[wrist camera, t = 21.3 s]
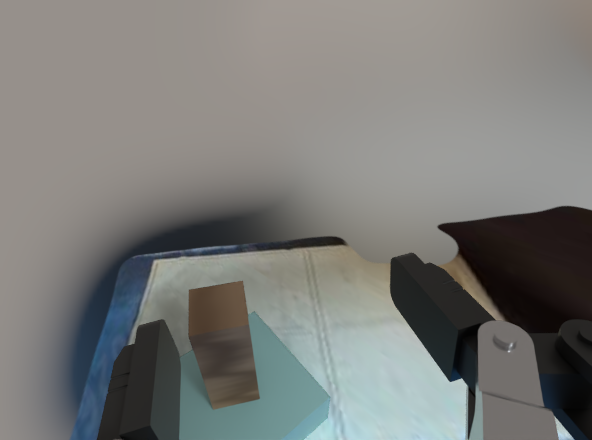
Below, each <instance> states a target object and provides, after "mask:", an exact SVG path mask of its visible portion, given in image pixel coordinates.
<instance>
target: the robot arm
mask: <svg viewBox="0 0 592 440" xmlns="http://www.w3.org/2000/svg"><path fill="white" fill-rule="evenodd" d="M390 292H391V297H392V300H393V302H394V304H395V306H396V308H397V309H398V310H399V312H400V313H401V315H402V316H403V317H404V319H405V320H406V322H407V323H408V324H409V326H410V327H411V329H412V330H413V331H414V333H415V334H416V335H417V337H418V338H419V340H420V341H421V342H422V344H423V345H424V347H425V348H426V349H427V351H428V352H429V354H430V355H431V356H432V358H433V359H434V361H435V362H436V363H437V365H438V366H439V367H440V369H441V370H442V372H443V373H444V374H445V376H446V377H447V379H448V380H449V381H450V382H452V381H455V380H458V379H461V378H462V379H463V380H464V381H465V383H466V384H467V390H466V438H465V440H559V439H558V434H557V428H556V423H555V418H554V416H555V417H556V418H557V419H558V420H559V422H560V423H561V424H562V425H563V426H564V427H565V429H566V430H567V431H568V432H569V433H570V435H571V436H572V437H573V438H574V439H575V440H592V322H591V321H587V320H580V319H573V320H569V321H566V322H564V323H563V324H562V325H561V328H560V330H559V333H526V332H525V331H524V330H523V329H521V328H520V327H518V326H516V325H514V324H511V323H509V322H505V321H496V320H495V319H494V318H493V317H492V316H491V315H490V314H489V313H488V312H487V311H486V310H485V309H484V308H483V307H482V306H481V305H480V304H479V303H478V302H477V301H476V300H475V299H474V298H473V297H472V296H471V295H470V294H469V293H468V292H467V291H466V290H465V289H464V290H463V288H462V286H461V285H460V284H458V283H457V282H455V281H454V279H453V278H452V277H451V276H450V275H449V274H448V273H447V272H446V271H445V270H444V269H442V268H440V267H438V266H436V265H434V264H432V263H427V264H424V263H423V262H422V261H421V260H420V259H419V258H418V257H417V256H416V255H415V254H414V253H409V254H405V255H401V256H398V257H394V258H392V259H391V272H390ZM180 389H181V362H180V357H179V353H178V350H177V347H176V345H175V343H174V341H173V338H172V336H171V334H170V331H169V329H168V327H167V325H166V323H165V321H164V320H163V319H161V320H158V321H154V322H150V323H147V324H143V325H139V326H138V328H137V333H136V339H135V344H132V345H128V346H125V347H124V348H123V349H122V351H121V352H120V354H119V356H118V357H117V359H116V360H115V362H114V366H113V370H112V375H111V381H110V384H109V388H108V394H107V397H106V402H105V406H104V411H103V415H102V420H101V424H100V429H99V433H98V437H97V440H179V427H180Z"/></svg>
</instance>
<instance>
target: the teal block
mask: <svg viewBox="0 0 592 440" xmlns="http://www.w3.org/2000/svg"><path fill="white" fill-rule="evenodd" d="M248 320H249V327H250V334H251V341H252V348H253V355H254V362H255V368H256V375H257V382H258V389H259V396H260V399H258V400H254V401H249V402H245V403H241V404H236V405H232V406H228V407H223V408H219V409H214V410H213V408H212V405H211V402H210V399H209V396H208V393H207V390H206V387H205V384H204V381H203V378H202V375H201V372H200V369H199V366H198V363H197V360H196V357H195V354H194V351H193V350H191V351H190V352H188V353H186V354H185V355H183V356H181V357H180V362H181V389H180V427H179V440H304V439H305V438H306V437H307V436H308V435H309V434H310V433H312V432H313V431H314V430H315V429H316V428H317V427H318V426H319V425H320V424H321V423H323V422H324V421H325V420H326V419H327V418H328V411H329V403H330V396H329V395H328V394H327V393H326V391H325V390H324V389H323V388H322V387H321V386H320V385H319V384H318V382H317V381H316V380H315V379H314V378H313V377H312V376H311V374H310V373H309V372H308V371H307V370H306V369H305V368H304V367H303V365H302V364H301V363H300V362H299V361H298V360H297V359H296V358H295V356H294V355H293V354H292V353H291V352H290V351H289V350H288V349H287V347H286V346H285V345H284V344H283V343H282V342H281V341H280V340H279V338H278V337H277V336H276V335H275V334H274V333H273V332H272V331H271V329H270V328H269V327H268V326H267V325H266V324H265V323H264V322H263V320H262V319H261V318H260V317H259V316H258V315H257V314H256V313H255V311H254V312H252V313H251V314H249V315H248Z"/></svg>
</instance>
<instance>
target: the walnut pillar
mask: <svg viewBox="0 0 592 440" xmlns="http://www.w3.org/2000/svg"><path fill="white" fill-rule="evenodd" d="M189 339H190V342H191V345H192V348H193V351H194V354H195V357H196V360H197V363H198V366H199V369H200V372H201V375H202V378H203V381H204V384H205V387H206V390H207V393H208V396H209V399H210V402H211V405H212V408H213V410H214V409H219V408H223V407H228V406H232V405H236V404H241V403H245V402H249V401H254V400H258V399H260V396H259V389H258V382H257V375H256V368H255V362H254V355H253V348H252V341H251V334H250V327H249V320H248V313H247V306H246V299H245V293H244V286H243V281H238V282H233V283H227V284H221V285H215V286H209V287H203V288H197V289H191V290H189Z"/></svg>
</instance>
